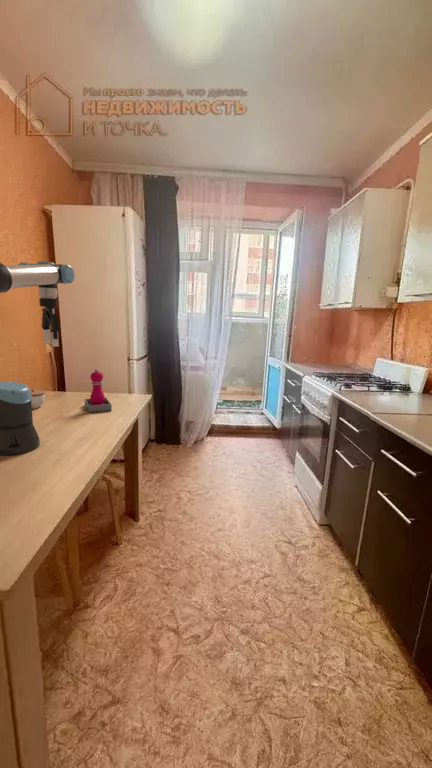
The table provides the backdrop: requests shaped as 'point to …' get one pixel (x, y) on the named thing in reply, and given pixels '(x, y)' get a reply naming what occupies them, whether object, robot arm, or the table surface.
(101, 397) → the pepper mill
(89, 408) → the bin
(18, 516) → the table surface
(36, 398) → the lidded jar
